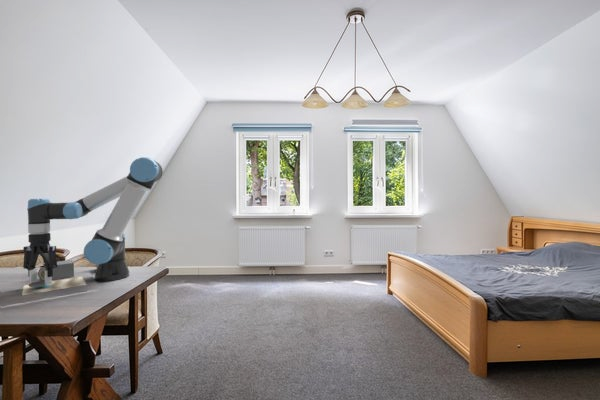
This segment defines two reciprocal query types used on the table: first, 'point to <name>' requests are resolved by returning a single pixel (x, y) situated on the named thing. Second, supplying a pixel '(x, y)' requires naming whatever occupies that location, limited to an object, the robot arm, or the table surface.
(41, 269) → the pocket watch
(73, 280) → the board
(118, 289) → the table surface
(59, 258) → the wooden carving
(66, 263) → the block
